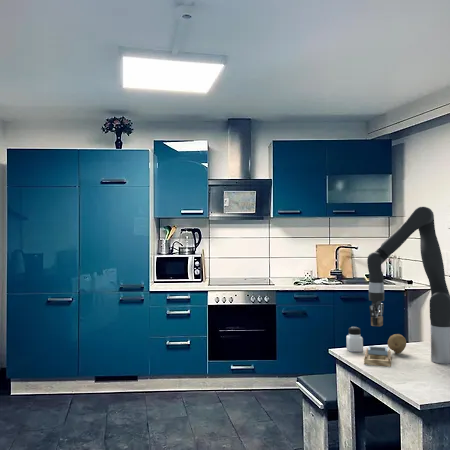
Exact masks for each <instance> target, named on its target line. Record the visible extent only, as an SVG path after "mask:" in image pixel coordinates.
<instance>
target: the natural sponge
mask: <svg viewBox="0 0 450 450" xmlns="http://www.w3.org/2000/svg"><path fill="white" fill-rule="evenodd" d="M406 346H407V340H406V337H404V336H403V335H402V334H400V333H395V334H392V335H390V336H389V338H388V340H387V347H388V349H389V350H390V351H391V350H392V351H393V352H394V353H395V354H397V355H398V354H402V352H403V351H404V350H405V349H406Z"/></svg>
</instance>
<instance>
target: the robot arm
mask: <svg viewBox="0 0 450 450" xmlns="http://www.w3.org/2000/svg"><path fill="white" fill-rule="evenodd" d="M435 226H436V225H435V215H434V212H433V210H432V209H431V208H429V207H427V206H418V207H417V208H415V209H414V210H413V212H412V213H411V214H410V215H409V216H408V218H407V220H406V221H405V222H404V223H403V224H402V225H401V226H400V227H399V228H398V229H397V230H396V231H394V233H392V234H391V235H390V236H389V237H388V238H387V239H386V240H384V241H383V242H382V243H381V245H380V247H378V248H377V249H376V250H375V251H374V252H371V253H369V254H368V256H367V261H366V262H367V270H368V301H371V305H369V308H368V309H369V315H370V318H371V317H372V318H373V325H374V326H373V327H378V326H377V316H383V315H384V309H385V308H384V307H385V304H384V303H383V302H384V301H385V284H384V272H383V271H382V264H383V263H385V261H387V259H389V257H390V256H391V255H392V254H394V253H395V252H396V251H397V250H398V249H400V247H401V246H402V245H403V244H404V243H405V242H406V241H407V240H408V239H409V238H410V237H411V235H412V234H414V233H415V232H416V231H417V230H418V231H419V238H420V240H419V241H420V258H421V261H422V262H421V263H422V265H423V268H424V269H423V270H424V272H425V275H426V276H427V277H426V278H427V279H428V282H429V286H430V298H429V320H430V361H431V362H433V363H436V364H442V365H447V364H450V291H449V288H448V285H447V281H446V275H445V274H446V273H445V272H446V271H445V265H444V260H443V256H442V254H443V253H442V250H441V247H440V246H441V245H440V243H439V240H438V237H437V234H436V227H435Z"/></svg>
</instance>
